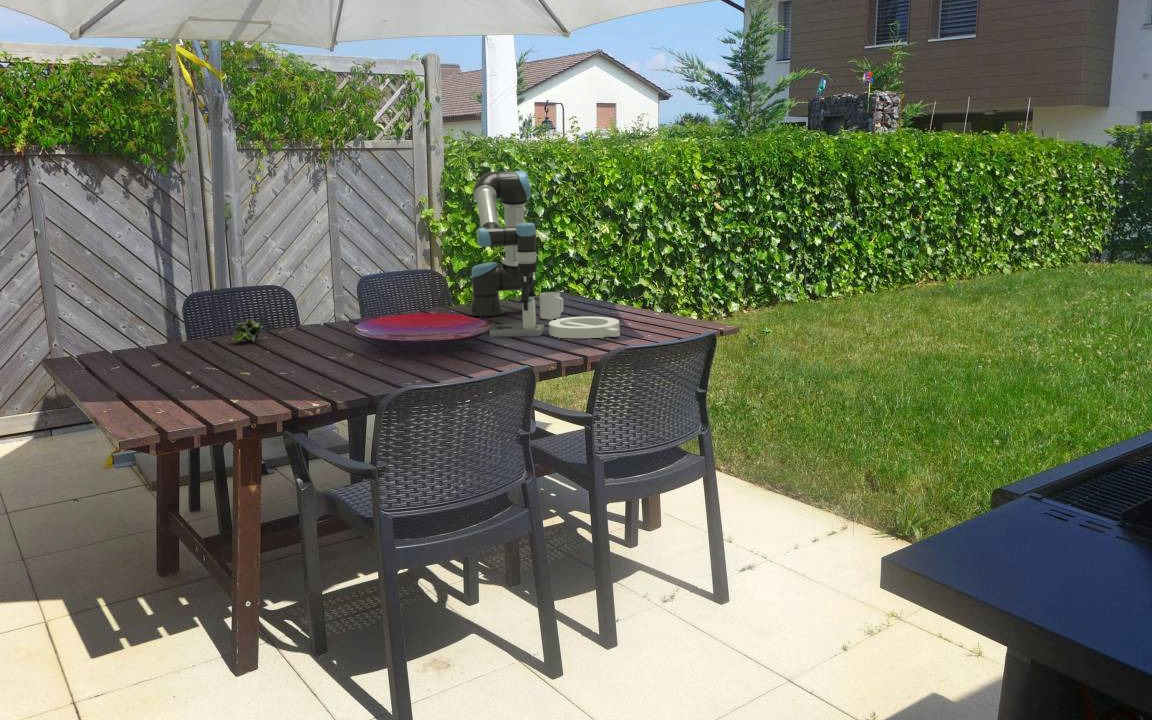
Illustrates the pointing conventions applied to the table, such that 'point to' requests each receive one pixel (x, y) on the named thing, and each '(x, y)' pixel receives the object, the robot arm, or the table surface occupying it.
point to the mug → (550, 305)
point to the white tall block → (532, 321)
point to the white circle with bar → (584, 327)
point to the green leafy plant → (248, 330)
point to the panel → (515, 331)
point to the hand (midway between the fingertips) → (529, 315)
